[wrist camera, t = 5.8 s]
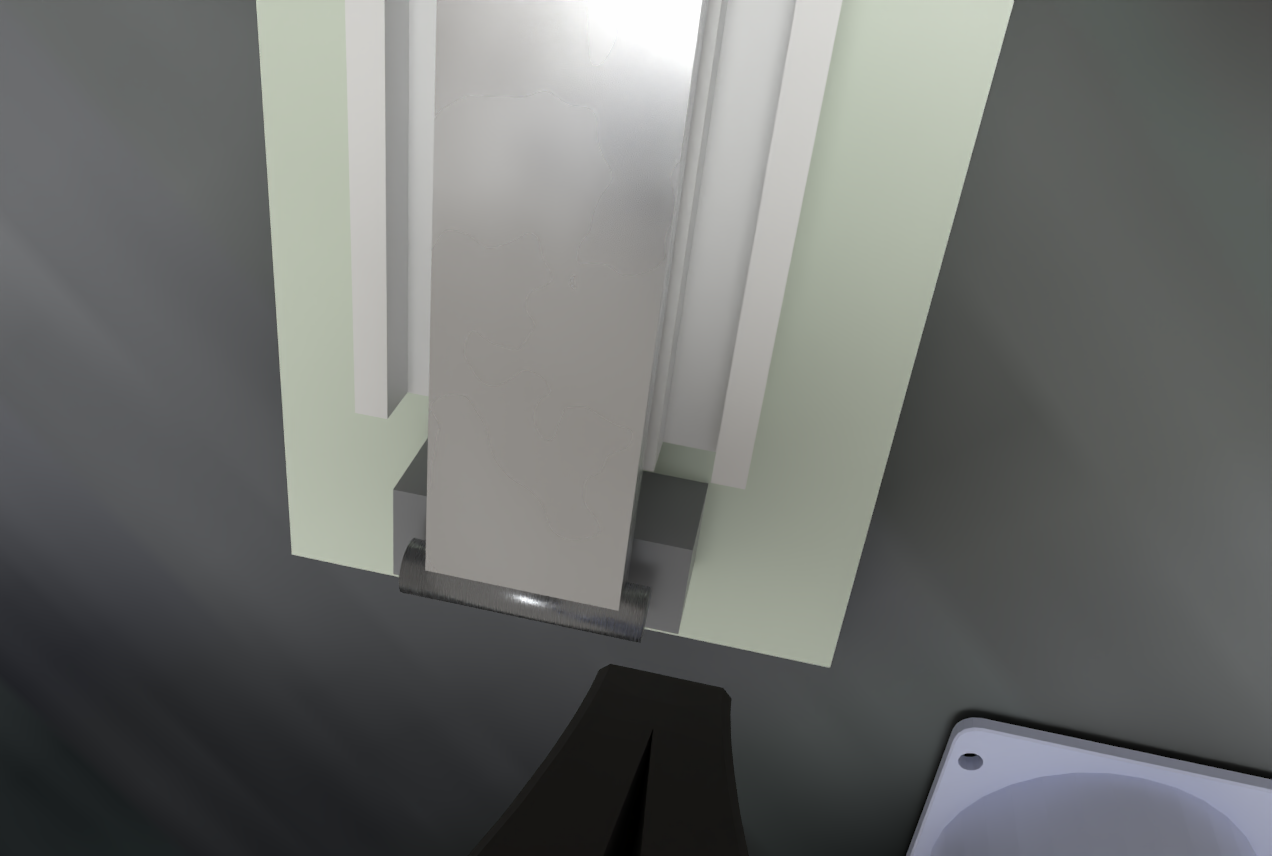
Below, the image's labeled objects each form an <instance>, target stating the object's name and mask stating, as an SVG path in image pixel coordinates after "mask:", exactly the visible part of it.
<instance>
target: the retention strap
mask: <svg viewBox="0 0 1272 856" xmlns="http://www.w3.org/2000/svg"><path fill="white" fill-rule="evenodd" d="M707 7H708V0H437V6H436V57H435V107H434V157H433V208H432V258H431V308H430V359H429V409H428V460H427V510H426V540H422V539H417V538H413V539H412V540H411V541H410V542H409V544H408V546H407V548H406V550H405V553H404V556H403V559H402V563H401V567H400V573H399V589H400V591H401V592H403V593H408V594H413V595H417V596H422V597H427V598H431V599H436V600H441V601H446V602H450V603H455V604H460V605H464V606H469V607H474V608H479V609H483V610H488V611H493V612H497V613H502V614H507V615H512V616H516V617H521V618H526V619H530V620H535V621H540V622H545V623H549V624H554V625H559V626H563V627H568V628H573V629H578V630H582V631H587V632H592V633H596V634H601V635H606V636H611V637H615V638H620V639H625V640H629V641H634V642H639V643H640V642H641V640H642V636H643V632H644V628H645V624H646V619H647V614H648V609H649V604H650V598H651V590H652V587H649V586H645V585H640V584H635V583H630V582H627V580H628V573H629V566H630V559H631V551H632V544H633V537H634V530H635V523H636V516H637V508H638V501H639V494H640V487H641V480H642V473H643V466H644V458H645V451H646V444H647V437H648V430H649V423H650V415H651V408H652V401H653V394H654V387H655V380H656V372H657V365H658V358H659V351H660V344H661V337H662V329H663V322H664V315H665V308H666V301H667V294H668V287H669V279H670V272H671V265H672V258H673V251H674V244H675V236H676V229H677V222H678V215H679V208H680V201H681V193H682V186H683V179H684V172H685V165H686V158H687V150H688V143H689V136H690V129H691V122H692V115H693V108H694V100H695V93H696V86H697V79H698V72H699V65H700V57H701V50H702V43H703V36H704V29H705V22H706V14H707Z"/></svg>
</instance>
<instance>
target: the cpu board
mask: <svg viewBox="0 0 1272 856" xmlns="http://www.w3.org/2000/svg"><path fill="white" fill-rule="evenodd" d="M1013 3H1014V0H708V7H707V14H706V22H705V29H704V36H703V43H702V50H701V57H700V65H699V72H698V79H697V86H696V93H695V100H694V108H693V115H692V122H691V129H690V136H689V143H688V150H687V158H686V165H685V172H684V179H683V186H682V193H681V201H680V208H679V215H678V222H677V229H676V236H675V244H674V251H673V258H672V265H671V272H670V279H669V287H668V294H667V301H666V308H665V315H664V322H663V329H662V337H661V344H660V351H659V358H658V365H657V372H656V380H655V387H654V394H653V401H652V408H651V415H650V423H649V430H648V437H647V444H646V451H645V458H644V466H643V473H642V480H641V487H640V494H639V501H638V508H637V516H636V523H635V530H634V537H633V544H632V551H631V559H630V566H629V573H628V580H627V582H630V583H635V584H640V585H645V586H649V587H652V590H651V598H650V604H649V609H648V614H647V619H646V624H645V628H644V629H648V630H653V631H658V632H662V633H667V634H672V635H677V636H681V637H686V638H691V639H696V640H700V641H705V642H710V643H715V644H719V645H724V646H729V647H734V648H738V649H743V650H748V651H753V652H757V653H762V654H767V655H772V656H776V657H781V658H786V659H791V660H795V661H800V662H805V663H810V664H814V665H819V666H824V667H829V668H830V666H831V662H832V659H833V655H834V651H835V648H836V644H837V640H838V637H839V633H840V630H841V626H842V622H843V619H844V615H845V611H846V608H847V604H848V601H849V597H850V593H851V590H852V586H853V583H854V579H855V575H856V572H857V568H858V564H859V561H860V557H861V554H862V550H863V546H864V543H865V539H866V535H867V532H868V528H869V525H870V521H871V517H872V514H873V510H874V506H875V503H876V499H877V496H878V492H879V488H880V485H881V481H882V477H883V474H884V470H885V467H886V463H887V459H888V456H889V452H890V448H891V445H892V441H893V438H894V434H895V430H896V427H897V423H898V419H899V416H900V412H901V409H902V405H903V401H904V398H905V394H906V390H907V387H908V383H909V380H910V376H911V372H912V369H913V365H914V361H915V358H916V354H917V351H918V347H919V343H920V340H921V336H922V333H923V329H924V325H925V322H926V318H927V314H928V311H929V307H930V304H931V300H932V296H933V293H934V289H935V285H936V282H937V278H938V275H939V271H940V267H941V264H942V260H943V256H944V253H945V249H946V246H947V242H948V238H949V235H950V231H951V227H952V224H953V220H954V217H955V213H956V209H957V206H958V202H959V198H960V195H961V191H962V188H963V184H964V180H965V177H966V173H967V169H968V166H969V162H970V159H971V155H972V151H973V148H974V144H975V140H976V137H977V133H978V130H979V126H980V122H981V119H982V115H983V111H984V108H985V104H986V101H987V97H988V93H989V90H990V86H991V82H992V79H993V75H994V72H995V68H996V64H997V61H998V57H999V54H1000V50H1001V46H1002V43H1003V39H1004V35H1005V32H1006V28H1007V25H1008V21H1009V17H1010V14H1011V10H1012V6H1013ZM256 6H257V21H258V37H259V52H260V68H261V83H262V99H263V114H264V129H265V145H266V160H267V176H268V191H269V207H270V222H271V238H272V253H273V269H274V284H275V300H276V315H277V331H278V346H279V362H280V377H281V393H282V408H283V424H284V439H285V455H286V470H287V486H288V501H289V516H290V532H291V547H292V555H297V556H302V557H307V558H311V559H316V560H321V561H326V562H330V563H335V564H340V565H345V566H349V567H354V568H359V569H364V570H368V571H373V572H378V573H382V574H387V575H392V576H397V577H399V573H400V567H401V563H402V559H403V556H404V553H405V550H406V548H407V546H408V544H409V542H410V541H411V540H412V539H413V538H417V539H422V540H426V510H427V460H428V409H429V359H430V308H431V258H432V208H433V157H434V107H435V57H436V6H437V0H256Z"/></svg>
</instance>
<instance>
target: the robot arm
mask: <svg viewBox="0 0 1272 856" xmlns="http://www.w3.org/2000/svg"><path fill="white" fill-rule="evenodd" d="M730 711H731V697H730V696H729V695H728V694H727V692H726V691H725V690H724V689H723V688H720V687H716V686H711V685H706V684H702V683H697V682H692V681H688V680H683V679H678V678H674V677H669V676H664V675H660V674H655V673H650V672H646V671H641V670H636V669H632V668H627V667H623V666H618V665H613V664H610V665H608V666H606V667H604V668H602V669H600V670H599V671H598V674H597V676H596V678H595V680H594V682H593V684H592V686H591V688H590V690H589V692H588V693H587V695H586V697H585V699H584V700H583V702H582V704H581V706H580V707H579V709H578V711H577V712H576V714H575V716H574V717H573V719H572V720H571V722H570V723H569V725H568V727H567V728H566V730H565V731H564V733H563V734H562V735H561V737H560V738H559V740H558V741H557V743H556V744H555V746H554V747H553V749H552V750H551V752H550V753H549V755H548V756H547V757H546V759H545V760H544V761H543V763H542V764H541V765H540V767H539V768H538V769H537V771H536V772H535V773H534V775H533V776H532V777H531V779H530V780H529V781H528V783H527V784H526V785H525V787H524V788H523V789H522V791H521V792H520V793H519V795H518V796H517V797H516V799H515V800H514V801H513V803H512V804H511V805H510V807H509V808H508V809H507V810H506V812H505V813H504V814H503V815H502V816H501V818H500V819H499V820H498V821H497V822H496V824H495V825H494V826H493V827H492V828H491V829H490V831H489V832H488V833H487V834H486V835H485V836H484V838H483V839H482V840H481V841H480V842H479V843H478V845H477V846H476V847H475V848H474V849H473V850H472V852H471V853H470V854H469V855H468V856H749V855H748V850H747V845H746V841H745V836H744V831H743V826H742V821H741V815H740V809H739V803H738V797H737V789H736V782H735V774H734V767H733V757H732V746H731V721H730ZM966 753H974V754H977V755H976V756H973V757H966V756H963V755H964V754H966ZM906 856H1272V779H1267V778H1262V777H1257V776H1253V775H1248V774H1243V773H1239V772H1234V771H1229V770H1224V769H1220V768H1215V767H1210V766H1206V765H1201V764H1196V763H1191V762H1187V761H1182V760H1177V759H1173V758H1168V757H1163V756H1158V755H1154V754H1149V753H1144V752H1140V751H1135V750H1130V749H1125V748H1121V747H1116V746H1111V745H1107V744H1102V743H1097V742H1093V741H1088V740H1083V739H1078V738H1074V737H1069V736H1064V735H1060V734H1055V733H1050V732H1045V731H1041V730H1036V729H1031V728H1027V727H1022V726H1017V725H1012V724H1008V723H1003V722H998V721H994V720H989V719H984V718H975V717H972V718H967V719H963V720H962V721H960V722H958V723H957V724H956V725H955V727H954V728H953V730H952V732H951V735H950V738H949V740H948V743H947V746H946V749H945V751H944V754H943V757H942V759H941V762H940V765H939V768H938V770H937V773H936V776H935V778H934V781H933V784H932V787H931V789H930V792H929V795H928V797H927V800H926V803H925V805H924V808H923V811H922V814H921V816H920V819H919V822H918V824H917V827H916V830H915V833H914V835H913V838H912V841H911V843H910V846H909V849H908V852H907V854H906Z"/></svg>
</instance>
